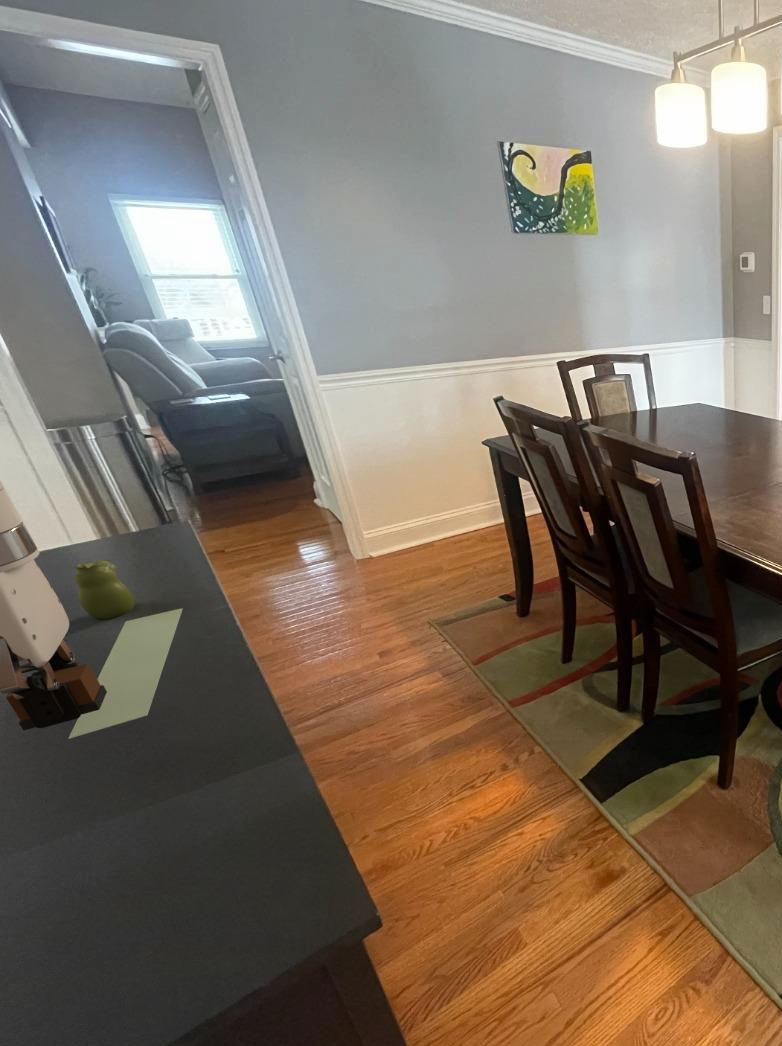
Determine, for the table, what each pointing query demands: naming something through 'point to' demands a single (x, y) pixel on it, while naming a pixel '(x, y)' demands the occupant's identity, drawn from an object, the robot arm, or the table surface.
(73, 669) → the eraser
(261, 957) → the table surface
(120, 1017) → the table surface
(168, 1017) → the table surface
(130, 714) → the board
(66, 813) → the table surface
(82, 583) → the pear
